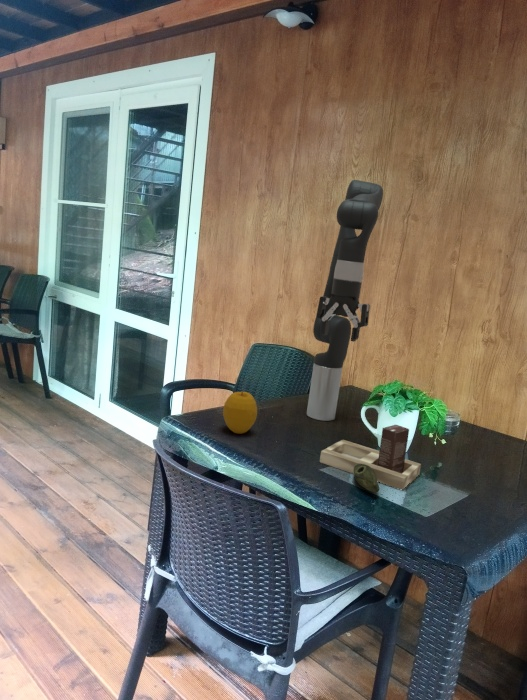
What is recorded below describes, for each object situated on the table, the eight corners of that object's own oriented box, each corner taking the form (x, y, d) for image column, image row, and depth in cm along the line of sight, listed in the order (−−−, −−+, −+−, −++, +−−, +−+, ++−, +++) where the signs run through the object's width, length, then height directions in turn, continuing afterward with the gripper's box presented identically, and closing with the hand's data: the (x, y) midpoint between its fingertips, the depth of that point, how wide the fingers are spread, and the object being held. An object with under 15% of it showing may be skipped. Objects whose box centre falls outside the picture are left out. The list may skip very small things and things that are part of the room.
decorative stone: (336, 480, 136) (340, 461, 135) (357, 475, 141) (360, 456, 140) (373, 500, 128) (377, 479, 127) (394, 493, 133) (397, 473, 132)
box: (387, 468, 147) (395, 423, 145) (403, 474, 144) (411, 429, 141) (374, 472, 143) (382, 426, 140) (389, 479, 139) (397, 432, 137)
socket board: (340, 449, 157) (342, 439, 156) (419, 475, 146) (421, 464, 145) (319, 462, 146) (321, 451, 145) (402, 490, 135) (404, 478, 134)
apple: (231, 423, 168) (236, 384, 165) (260, 431, 164) (265, 392, 161) (214, 431, 159) (219, 390, 157) (244, 440, 155) (250, 398, 153)
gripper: (317, 274, 152) (309, 334, 156) (367, 282, 145) (357, 344, 148) (330, 275, 159) (321, 332, 162) (378, 282, 152) (368, 342, 155)
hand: (338, 338), depth 155 cm, fingers open, 8 cm apart
